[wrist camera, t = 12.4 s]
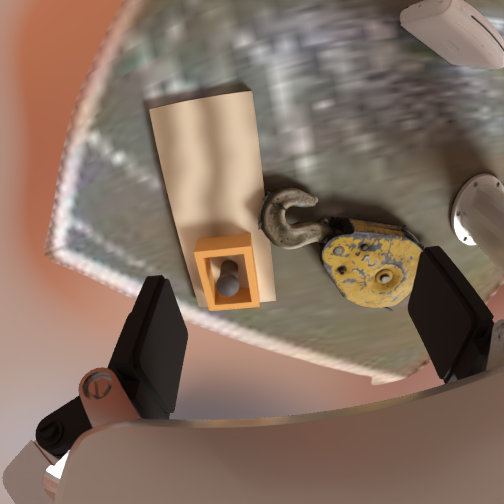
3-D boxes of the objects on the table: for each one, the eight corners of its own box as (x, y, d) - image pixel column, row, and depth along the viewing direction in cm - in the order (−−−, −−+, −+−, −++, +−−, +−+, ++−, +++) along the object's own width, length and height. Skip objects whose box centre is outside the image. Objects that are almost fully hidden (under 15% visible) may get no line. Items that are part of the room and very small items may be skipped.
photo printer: (393, 24, 26) (448, 11, 15) (404, 1, 24) (458, -16, 13) (452, 69, 28) (513, 78, 17) (461, 47, 26) (522, 50, 15)
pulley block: (299, 164, 30) (455, 277, 38) (295, 145, 34) (442, 252, 42) (233, 253, 38) (391, 328, 46) (238, 226, 42) (384, 302, 51)
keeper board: (252, 90, 31) (252, 92, 26) (275, 294, 47) (278, 326, 41) (153, 108, 32) (132, 115, 26) (200, 300, 48) (194, 332, 42)
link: (251, 233, 40) (251, 246, 37) (259, 292, 45) (259, 306, 43) (197, 239, 40) (193, 252, 38) (211, 296, 46) (209, 310, 43)
